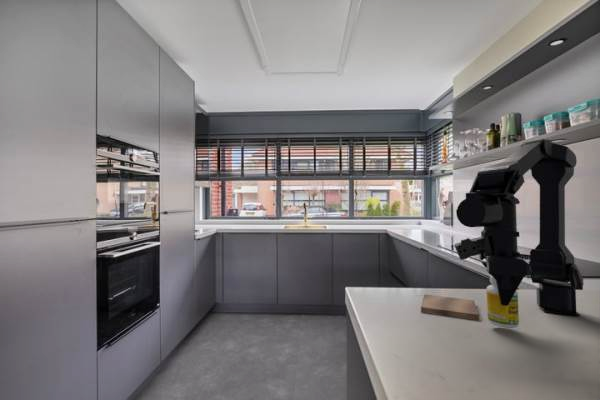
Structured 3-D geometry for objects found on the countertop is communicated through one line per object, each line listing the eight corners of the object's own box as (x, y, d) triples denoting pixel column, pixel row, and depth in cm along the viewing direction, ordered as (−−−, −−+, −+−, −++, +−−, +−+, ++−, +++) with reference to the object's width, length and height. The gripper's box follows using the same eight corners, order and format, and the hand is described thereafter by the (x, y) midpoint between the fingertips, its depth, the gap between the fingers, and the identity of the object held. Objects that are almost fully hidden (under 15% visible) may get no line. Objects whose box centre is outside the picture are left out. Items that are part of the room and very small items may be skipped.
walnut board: (474, 304, 76) (473, 300, 76) (478, 320, 65) (478, 314, 65) (424, 298, 81) (424, 294, 81) (421, 311, 71) (420, 306, 71)
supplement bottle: (494, 316, 64) (493, 272, 64) (523, 324, 59) (522, 277, 59) (482, 322, 61) (481, 276, 61) (512, 331, 56) (510, 281, 56)
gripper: (455, 223, 73) (456, 286, 72) (457, 227, 56) (459, 309, 55) (509, 224, 68) (511, 291, 67) (529, 228, 51) (532, 318, 50)
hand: (502, 301), depth 60 cm, fingers closed on supplement bottle, 5 cm apart
